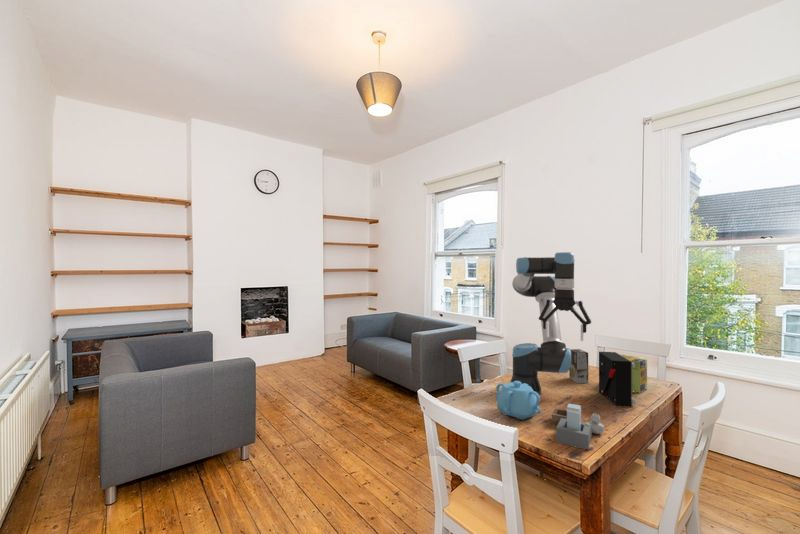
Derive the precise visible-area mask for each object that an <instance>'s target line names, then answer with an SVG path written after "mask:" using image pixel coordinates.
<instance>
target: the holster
mask: <svg viewBox="0 0 800 534" xmlns="http://www.w3.org/2000/svg"><path fill="white" fill-rule="evenodd" d="M561 418H565V419H567V409H565V408H559V407H554V409H553V412H552V413H551V426H552V425H553V426H556V427H557V425H558V423H559V421H560V419H561Z"/></svg>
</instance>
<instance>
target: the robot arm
mask: <svg viewBox="0 0 800 534" xmlns="http://www.w3.org/2000/svg"><path fill="white" fill-rule="evenodd" d="M515 268H516V276H515V277H513V280H512V283H511V284H512V289H514V291H515V292H516V293H517V294H519V295H521V296H523V297H529V298H530V297H531V298H535V299H534V300H535V301H536V302H537V303H538V305H539V306H538V307H539V314H540V315H539V317H538V321H540V324H541V325H540V326H541V333H542V335H541V336H542V343H541V344H540V346H538V344H537V343H532V342H529V343H528V342H526V343H525V342H524V343H519V344H515V345H514V346H513V347H512V355H511V357H512V376H511V379H510V382H513V381H520V382H521V384H523V383H526V384H528V385H529V386H530V387H531V388H532V389H533V391H535V392H537V393H538V394H539V396H540V397H541V395H542V387H541V384H540V381H539V377H538V376H539V375H538V373H539V372H542V373H552V374H553V373H555V374H556V373H557V374H565V373H569V369H570V365H571V351H570V349H571V348H568V347H567V346H566V343H565V342H563V341H562V334H561V327H560V322H559V321H560V320H559V313H558V311H565V312H569V311H570V312H571V313H572V314H573V315H574V316H575V317H576V318H577V319H578V320H579V322H580V323H581V324H580V342H584V333H585V334H586V333H587V326H588V325H590V324H592V319H591V318H590V316H589V314H588V312H587V311H586V309H585V307H584V302H583V301H582V300H577V301H576V300H575V290H574V288H575V255H574V253H573V252H570V251H569V252H567V251H566V252H556V253H554V256H553V257H552V256H551V257H546V256H545V257H526V256H525V257H517V259H516V263H515ZM535 275H536V276H535ZM540 275H541V276H540ZM542 275H543V276H542ZM544 275H545V276H544ZM546 275H547V276H546ZM552 275H554V276H552ZM575 305H576V306H577V307H578V308H579V309H580V311H581V314H582V315H583V317H584V318H583V317H582V316H581V314H579V312H578V311H577V309H576V308H575ZM510 382H509V383H510Z"/></svg>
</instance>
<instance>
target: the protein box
mask: <svg viewBox="0 0 800 534" xmlns="http://www.w3.org/2000/svg"><path fill="white" fill-rule="evenodd" d="M618 354H619V355H622V356H623V357H625V358H626V359H628V360H630V361H631V362H633V363H634V364H635V367H634V368H632V391H634V392H633V393H636V392H639V393H638V394H642V393H643V392H645V391H646V390H645V389H647V390H648V358H645V357H641V356H639V357H638V356H632V355H627V354H621V353H618ZM644 390H645V391H644ZM642 391H643V392H642ZM641 392H642V393H641Z"/></svg>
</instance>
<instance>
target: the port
mask: <svg viewBox="0 0 800 534" xmlns="http://www.w3.org/2000/svg"><path fill="white" fill-rule="evenodd" d="M555 430H556V432H555V433H556V435H555V437H556V439H555V440H556V443H559V444H563V445H568V446H571V447H574V446H576V447H575V448H578V447H580V448H579V449H582V448H584V449H583V450H586V449H590V446H589V445H591V441H592V432H591V424H589V423H588V422H583V421H581V431H579V430H574V429H570V428H567V419H565V418H561V419H560V421H559V423H558V425H557V426H556V429H555Z"/></svg>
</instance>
